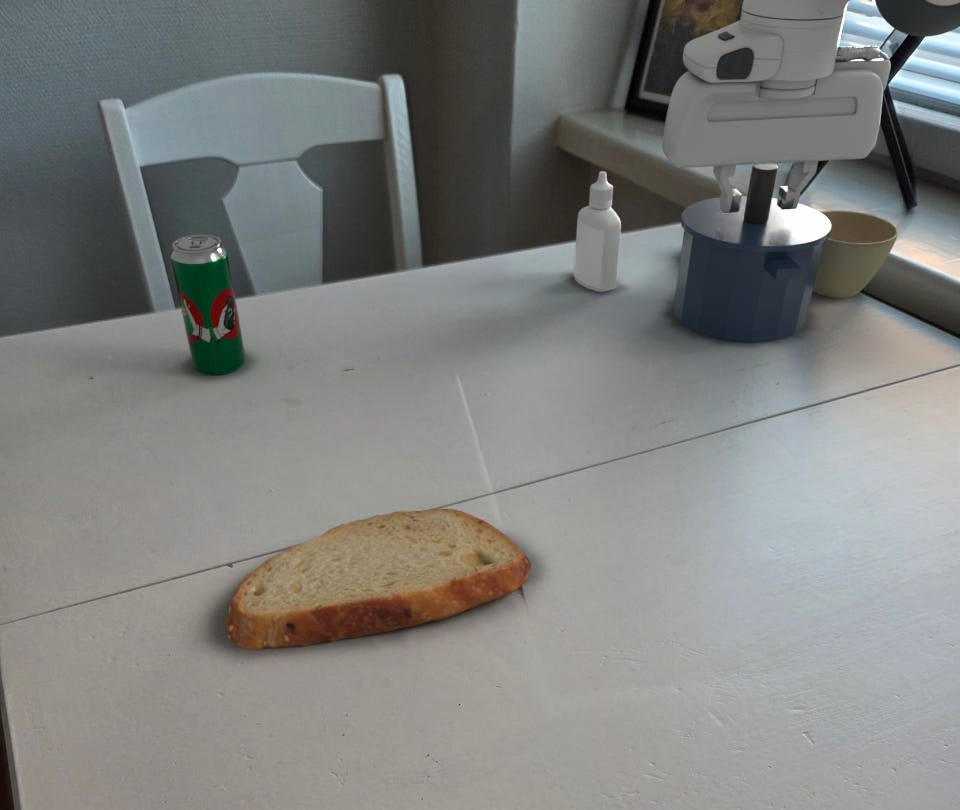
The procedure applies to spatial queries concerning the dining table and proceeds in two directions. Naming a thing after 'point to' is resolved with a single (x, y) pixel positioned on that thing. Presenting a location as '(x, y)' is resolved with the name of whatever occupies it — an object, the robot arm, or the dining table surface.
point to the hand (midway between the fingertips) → (757, 209)
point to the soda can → (208, 304)
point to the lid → (757, 220)
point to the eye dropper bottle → (598, 239)
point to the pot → (744, 291)
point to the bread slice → (375, 579)
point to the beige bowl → (852, 252)
